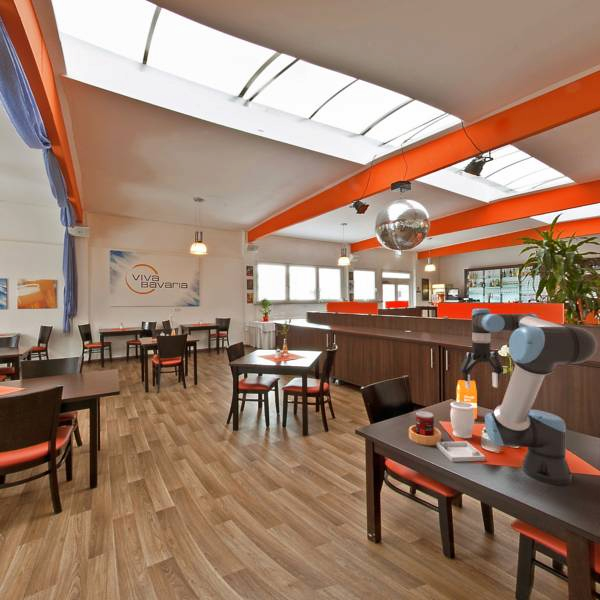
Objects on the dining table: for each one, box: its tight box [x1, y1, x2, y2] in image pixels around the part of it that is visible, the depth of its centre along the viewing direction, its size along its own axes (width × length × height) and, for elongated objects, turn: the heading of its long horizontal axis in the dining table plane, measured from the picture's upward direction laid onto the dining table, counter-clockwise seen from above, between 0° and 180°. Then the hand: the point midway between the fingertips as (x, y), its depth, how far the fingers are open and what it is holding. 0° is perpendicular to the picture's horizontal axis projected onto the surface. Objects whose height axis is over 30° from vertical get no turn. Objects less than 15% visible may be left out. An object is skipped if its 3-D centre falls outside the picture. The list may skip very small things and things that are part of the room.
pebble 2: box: [472, 450, 481, 456], centre depth 139 cm, size 3×3×3 cm
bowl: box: [408, 424, 442, 446], centre depth 158 cm, size 14×14×4 cm
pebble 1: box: [441, 441, 448, 449], centre depth 148 cm, size 3×3×3 cm
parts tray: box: [435, 440, 486, 463], centre depth 144 cm, size 14×14×2 cm
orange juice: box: [456, 379, 478, 420], centre depth 187 cm, size 8×9×20 cm
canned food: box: [415, 410, 435, 436], centre depth 158 cm, size 8×8×11 cm
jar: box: [450, 401, 476, 439], centre depth 162 cm, size 11×10×15 cm
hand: (481, 387), depth 154 cm, fingers open, 13 cm apart
